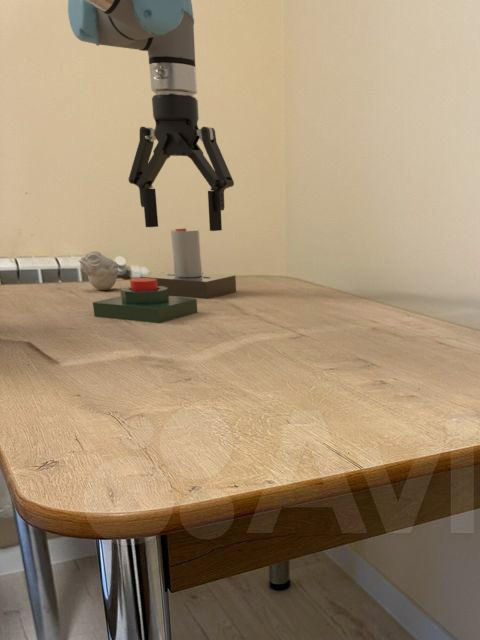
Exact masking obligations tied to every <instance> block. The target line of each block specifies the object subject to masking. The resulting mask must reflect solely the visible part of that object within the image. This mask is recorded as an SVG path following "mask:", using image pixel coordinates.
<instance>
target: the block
mask: <svg viewBox="0 0 480 640" xmlns="http://www.w3.org/2000/svg"><path fill="white" fill-rule="evenodd" d="M197 299H198V298H189V297H178V296H169V294H168V288H167V287H163V286H158V290H152V291H133V290H131V285H129V286H126V287H122V288H121V289H120V296H116V297H111V298H107V299H103V300H98V301H93V302H92V307H93V315H94V317H95V318H102V319H103V318H104V319H115V320H124V321H133V322H144V323H151V324H152V323H153V324H162V323H166V322H169V321H173V320H177V319H180V318H184V317H186V316H187V317H188V316H191V315H194V314H198V313H199V312H198V300H197Z"/></svg>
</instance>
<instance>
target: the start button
mask: <svg viewBox="0 0 480 640" xmlns="http://www.w3.org/2000/svg"><path fill="white" fill-rule="evenodd" d="M129 286H131V290H133V291H152V290H158V284H157V279H154V278H140V277H137V278H131V279H129Z"/></svg>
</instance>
